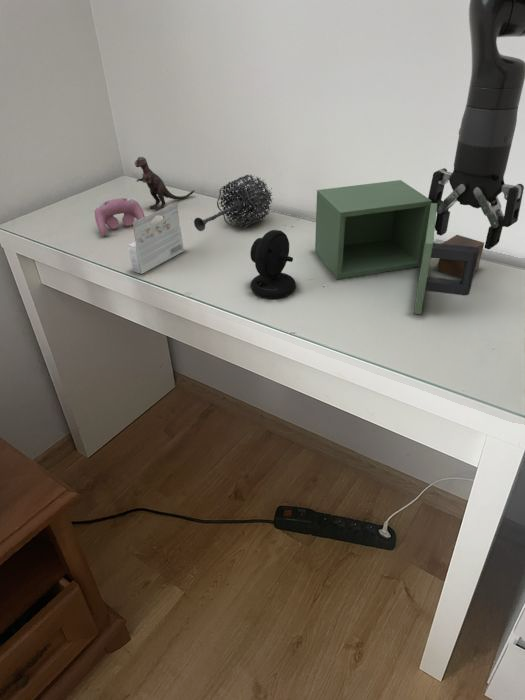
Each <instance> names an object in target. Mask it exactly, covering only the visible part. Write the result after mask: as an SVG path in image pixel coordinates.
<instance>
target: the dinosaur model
mask: <svg viewBox="0 0 525 700" xmlns="http://www.w3.org/2000/svg"><path fill="white" fill-rule="evenodd" d="M134 166H135V167H136V168H141V170H142V177H141V178H137V179H136V183H138V182H142V183H145V184H146V186H147V187H148V189H149V193H150V196H152V199H154V200H155V203H154V204H153V205H149V209H150V210H153V209H155V210H156V211H155V212H157V211H159V210H161V209H163V208H165V207H166V205H167V203H166V201H165V198H166V199H168V198H169V199H172V200H174V201H176V200H185V199H187V198H189V197H190V196H191V195H193V194H194V192H195V190H192V191H191V192H189V193H187V194H186V195H182V196H179V195H174V194H173V193H172V192H171V191H170V190H168V188H167V187H166V184H165V183H164V182H165V181H164V180H163V179H162V178H161V177H160V176H159V175H158V174H157V173H155V172H154V171H153V170H152V169H151V168H150V167H149V164H148V161H147V159H146V157H144V156H138V157H137V158H136V160H134ZM159 205H160V206H159Z"/></svg>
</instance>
